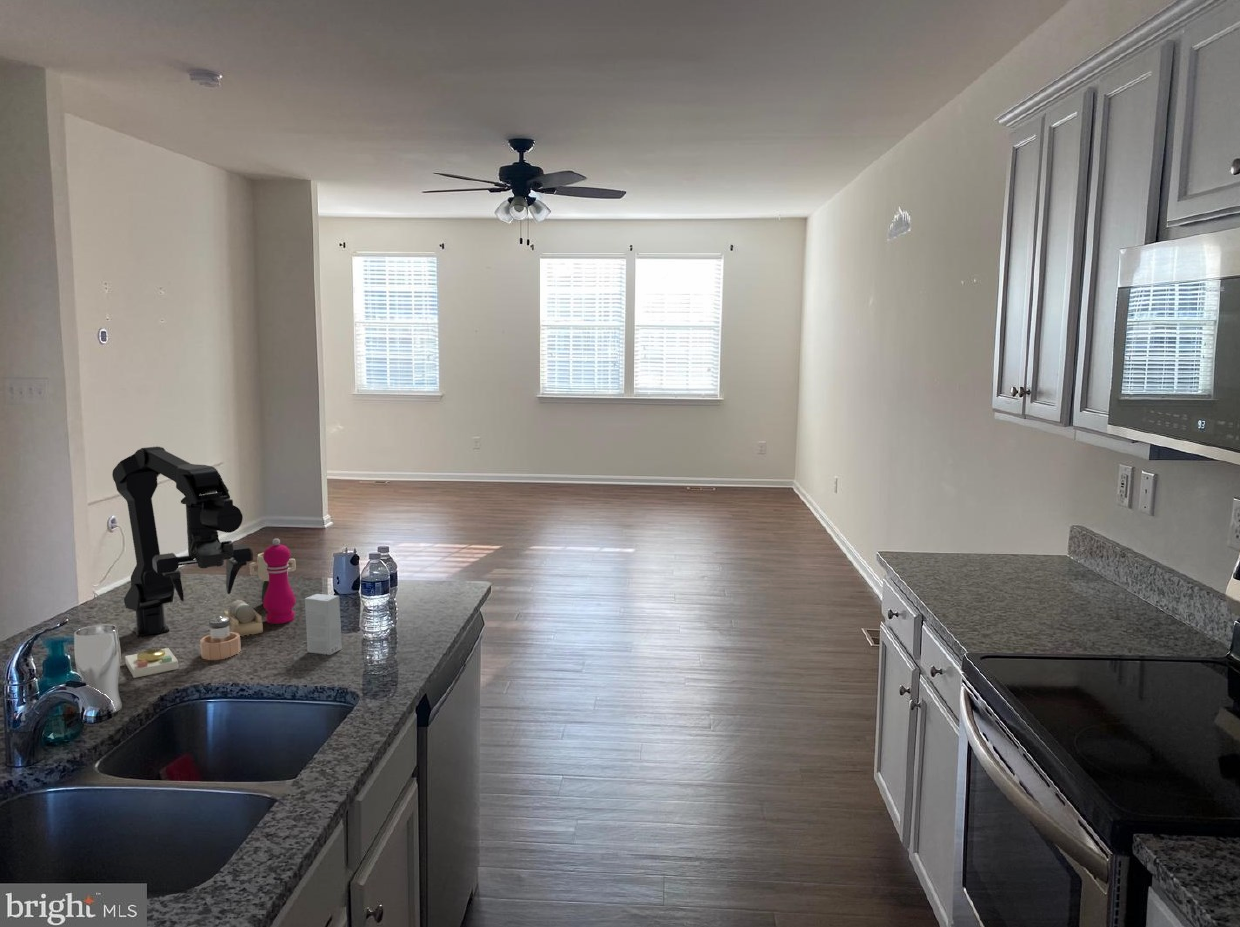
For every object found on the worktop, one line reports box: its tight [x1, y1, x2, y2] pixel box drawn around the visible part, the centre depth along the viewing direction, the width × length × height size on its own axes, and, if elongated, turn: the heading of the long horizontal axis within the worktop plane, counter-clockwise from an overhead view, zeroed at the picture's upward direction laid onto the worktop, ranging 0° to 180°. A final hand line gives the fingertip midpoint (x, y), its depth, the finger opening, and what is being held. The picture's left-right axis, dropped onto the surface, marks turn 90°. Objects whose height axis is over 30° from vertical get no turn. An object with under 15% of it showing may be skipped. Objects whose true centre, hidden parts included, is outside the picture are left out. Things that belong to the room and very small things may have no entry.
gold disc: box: [137, 648, 165, 662], centre depth 173 cm, size 5×5×1 cm
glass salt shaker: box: [208, 615, 230, 643], centre depth 180 cm, size 4×4×8 cm
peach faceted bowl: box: [199, 632, 242, 661], centre depth 181 cm, size 8×8×4 cm
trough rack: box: [223, 599, 264, 637], centre depth 196 cm, size 10×6×6 cm, turn 38°
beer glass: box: [73, 623, 123, 713], centre depth 151 cm, size 7×7×15 cm
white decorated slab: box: [124, 647, 180, 679], centre depth 174 cm, size 10×8×2 cm
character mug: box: [249, 552, 297, 603], centre depth 216 cm, size 11×7×13 cm, turn 116°
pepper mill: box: [262, 538, 296, 625], centre depth 202 cm, size 7×7×20 cm
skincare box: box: [304, 593, 343, 656], centre depth 182 cm, size 6×4×12 cm
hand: (205, 597), depth 182 cm, fingers open, 9 cm apart
